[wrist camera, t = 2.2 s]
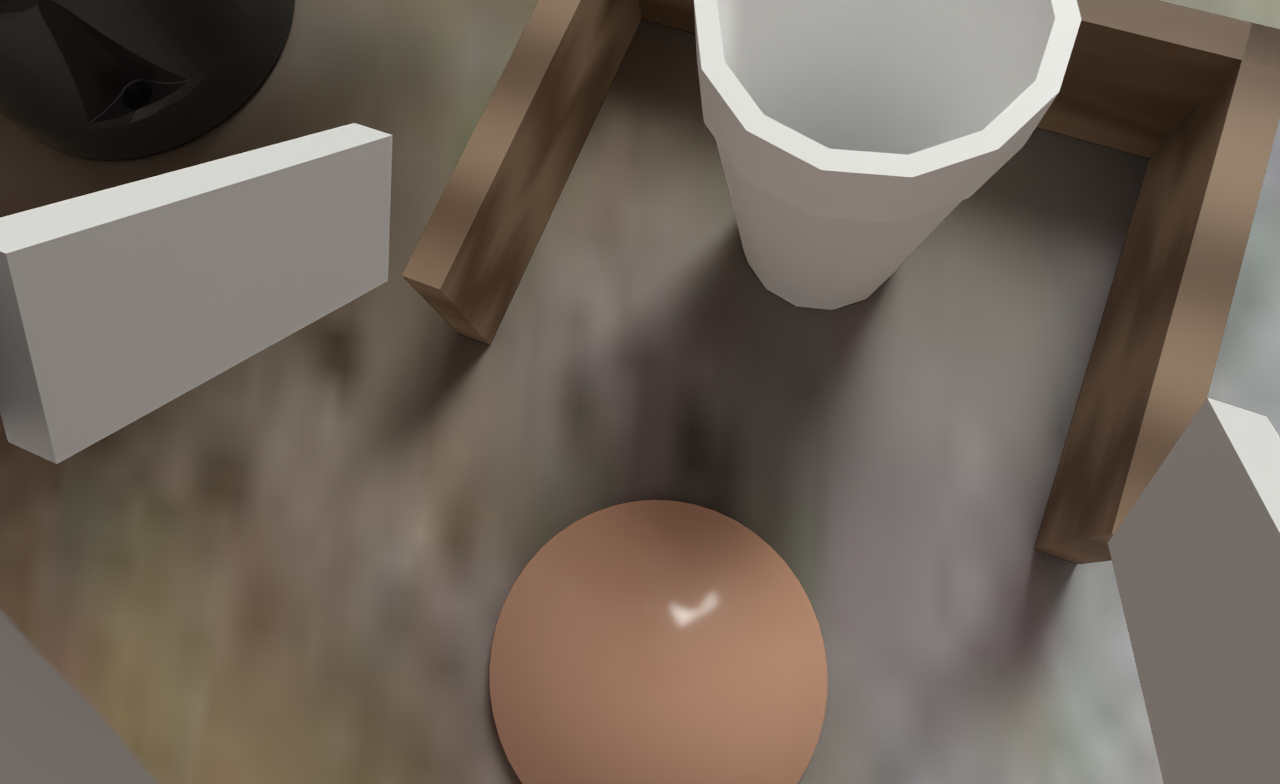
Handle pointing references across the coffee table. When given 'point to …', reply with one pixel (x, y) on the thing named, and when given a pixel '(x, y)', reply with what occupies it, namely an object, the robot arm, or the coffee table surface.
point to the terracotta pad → (658, 655)
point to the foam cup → (867, 123)
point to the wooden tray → (1084, 109)
